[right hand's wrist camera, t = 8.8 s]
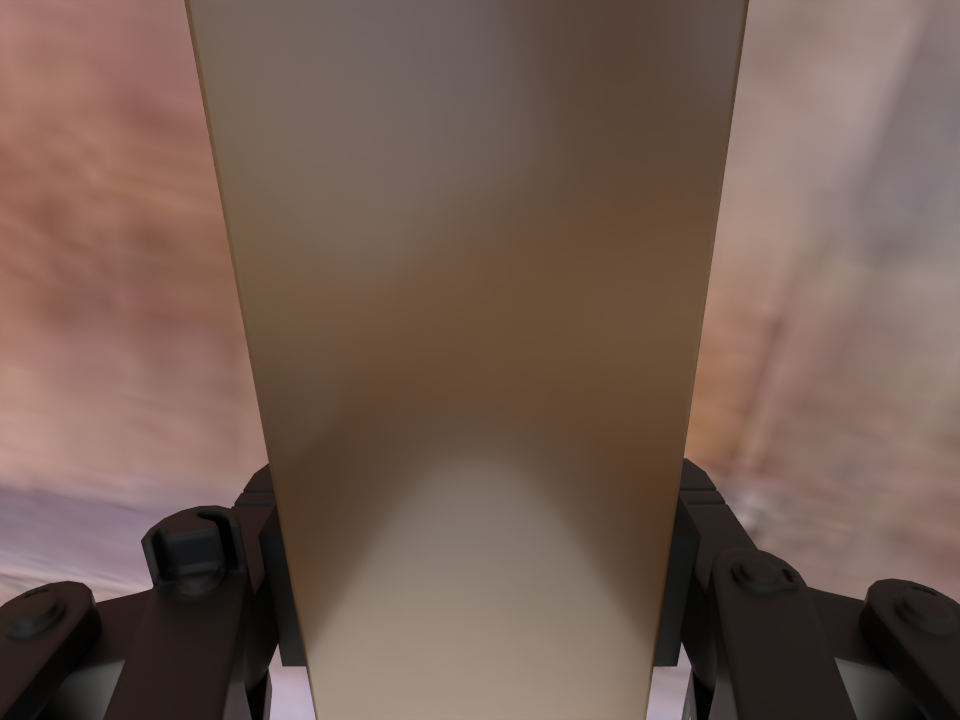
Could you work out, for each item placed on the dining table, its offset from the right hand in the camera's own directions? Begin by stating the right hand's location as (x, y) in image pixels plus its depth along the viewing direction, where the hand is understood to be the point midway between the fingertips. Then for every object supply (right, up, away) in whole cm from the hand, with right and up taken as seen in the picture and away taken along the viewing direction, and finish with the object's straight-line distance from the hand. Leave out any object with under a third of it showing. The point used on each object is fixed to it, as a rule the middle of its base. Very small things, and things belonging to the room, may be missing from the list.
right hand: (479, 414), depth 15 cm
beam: (0, +28, -10) cm, 30 cm away
